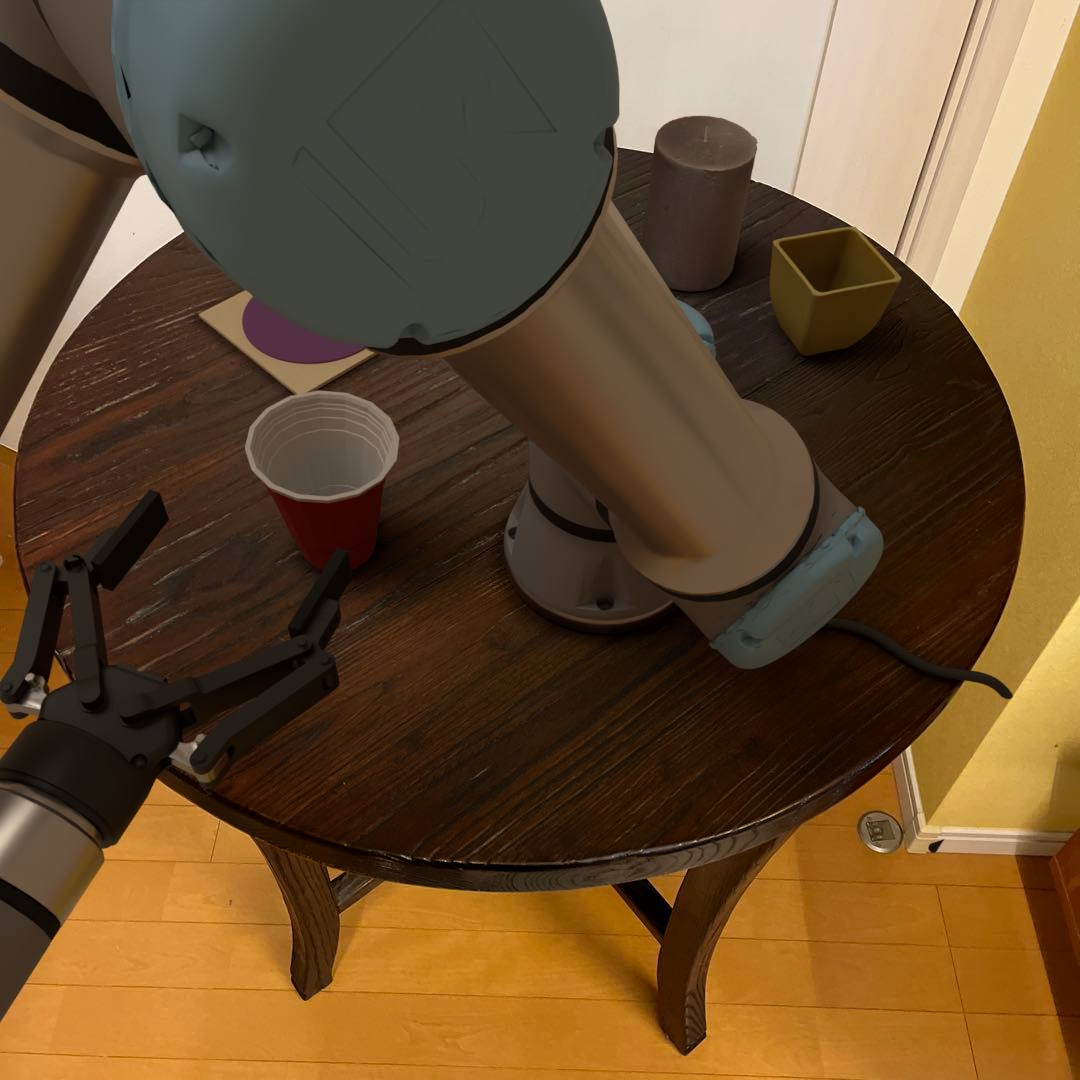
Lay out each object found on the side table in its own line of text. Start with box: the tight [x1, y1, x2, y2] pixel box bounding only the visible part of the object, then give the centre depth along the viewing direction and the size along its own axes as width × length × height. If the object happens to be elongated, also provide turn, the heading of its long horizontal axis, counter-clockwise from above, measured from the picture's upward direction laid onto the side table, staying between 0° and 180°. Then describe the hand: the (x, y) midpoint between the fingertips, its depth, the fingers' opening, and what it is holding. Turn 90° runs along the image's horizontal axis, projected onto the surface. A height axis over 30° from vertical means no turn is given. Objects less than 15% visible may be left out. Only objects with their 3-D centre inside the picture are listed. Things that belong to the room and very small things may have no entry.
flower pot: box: [769, 226, 902, 357], centre depth 99 cm, size 9×9×9 cm
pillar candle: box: [641, 115, 759, 292], centre depth 104 cm, size 10×10×15 cm
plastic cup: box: [244, 390, 400, 572], centre depth 80 cm, size 11×11×12 cm
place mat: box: [198, 289, 378, 395], centre depth 102 cm, size 16×15×1 cm
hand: (251, 532), depth 69 cm, fingers open, 13 cm apart
